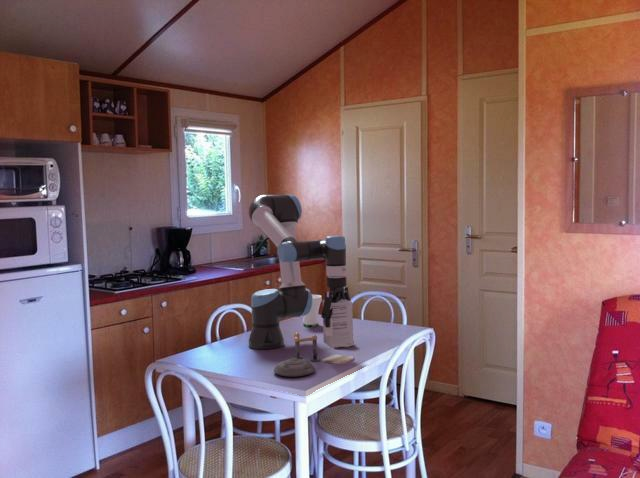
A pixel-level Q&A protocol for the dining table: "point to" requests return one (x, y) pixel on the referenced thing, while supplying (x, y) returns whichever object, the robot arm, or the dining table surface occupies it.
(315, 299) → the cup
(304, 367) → the flying saucer
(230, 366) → the dining table surface
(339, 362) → the coaster
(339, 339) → the supplement box
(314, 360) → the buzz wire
